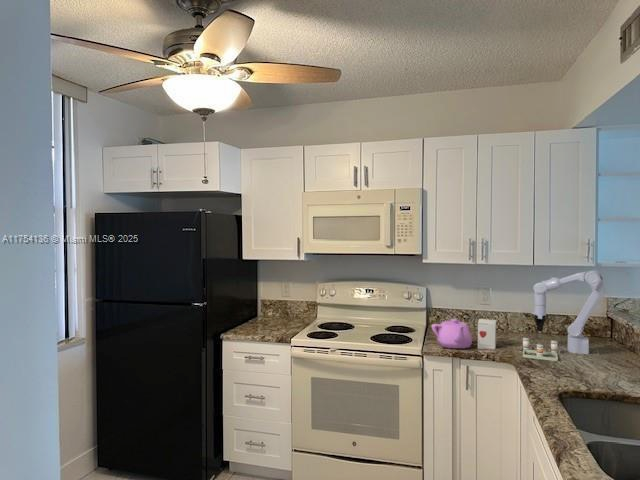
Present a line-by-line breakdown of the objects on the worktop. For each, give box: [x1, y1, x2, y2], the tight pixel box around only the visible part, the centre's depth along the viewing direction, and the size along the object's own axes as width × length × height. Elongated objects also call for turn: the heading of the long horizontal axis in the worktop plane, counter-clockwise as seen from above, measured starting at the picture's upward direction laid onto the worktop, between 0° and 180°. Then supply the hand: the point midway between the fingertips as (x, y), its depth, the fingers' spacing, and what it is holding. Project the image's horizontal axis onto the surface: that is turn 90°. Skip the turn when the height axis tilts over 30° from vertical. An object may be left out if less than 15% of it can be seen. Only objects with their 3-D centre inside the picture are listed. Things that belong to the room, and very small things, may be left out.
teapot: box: [431, 318, 473, 350], centre depth 233 cm, size 23×21×15 cm
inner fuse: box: [550, 339, 559, 353], centre depth 220 cm, size 3×3×6 cm
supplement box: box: [477, 318, 497, 350], centre depth 232 cm, size 9×9×15 cm
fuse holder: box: [519, 345, 562, 356], centre depth 223 cm, size 19×6×2 cm, turn 63°
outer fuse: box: [522, 337, 530, 350], centre depth 226 cm, size 3×3×6 cm
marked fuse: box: [535, 343, 544, 357], centre depth 214 cm, size 3×3×6 cm
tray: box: [522, 349, 559, 362], centre depth 214 cm, size 15×11×2 cm
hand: (539, 329), depth 232 cm, fingers open, 7 cm apart
